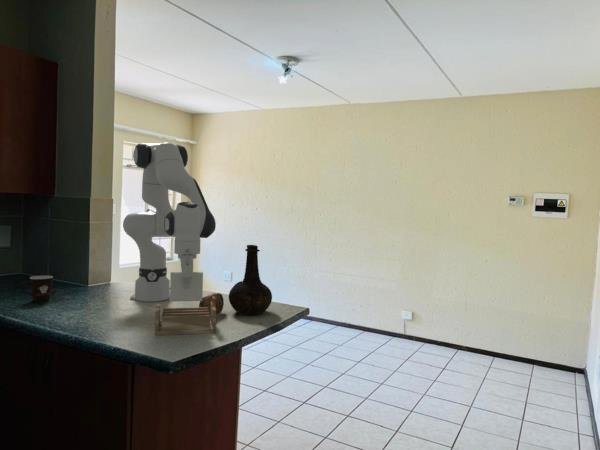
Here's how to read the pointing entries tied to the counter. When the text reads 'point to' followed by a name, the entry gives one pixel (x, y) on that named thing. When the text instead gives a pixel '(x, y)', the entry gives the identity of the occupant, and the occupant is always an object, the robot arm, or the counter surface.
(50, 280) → the coffee mug
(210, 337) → the counter surface
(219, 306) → the tin
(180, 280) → the panel
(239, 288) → the glass bottle
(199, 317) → the rack
